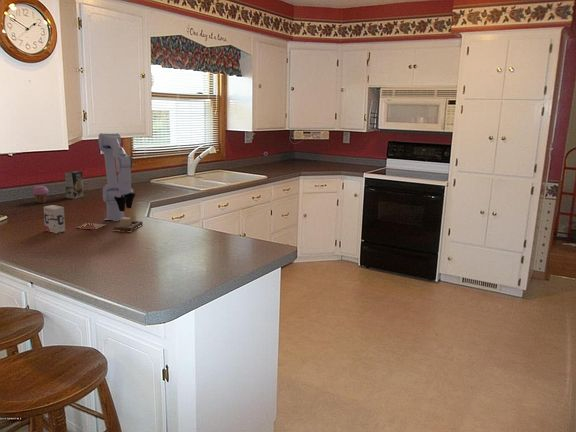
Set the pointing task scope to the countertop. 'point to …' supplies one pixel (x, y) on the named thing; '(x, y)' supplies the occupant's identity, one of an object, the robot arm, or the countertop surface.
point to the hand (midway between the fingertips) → (125, 209)
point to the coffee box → (74, 184)
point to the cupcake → (40, 193)
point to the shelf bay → (136, 224)
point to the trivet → (94, 225)
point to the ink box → (54, 218)
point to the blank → (125, 222)
